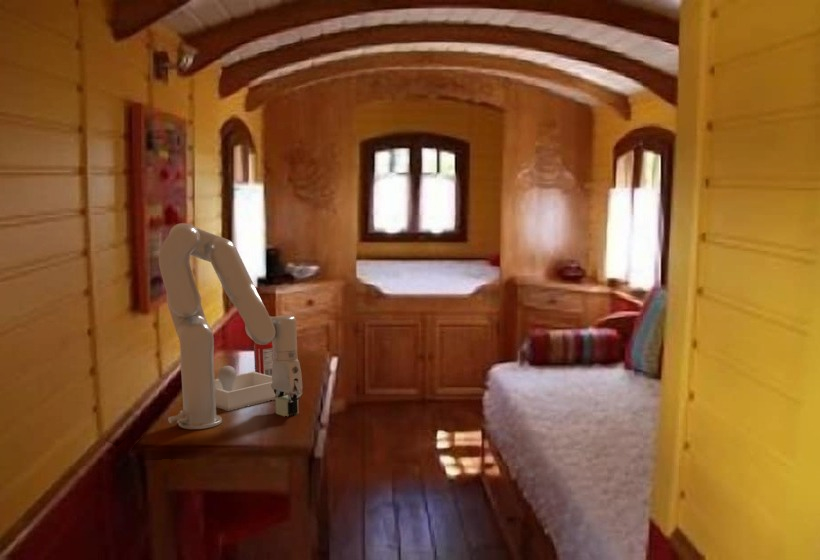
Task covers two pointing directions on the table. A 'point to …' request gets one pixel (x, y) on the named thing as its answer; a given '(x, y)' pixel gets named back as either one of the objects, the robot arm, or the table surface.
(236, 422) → the table surface
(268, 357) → the soda can
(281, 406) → the sage cube
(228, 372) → the lightbulb
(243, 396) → the tote
